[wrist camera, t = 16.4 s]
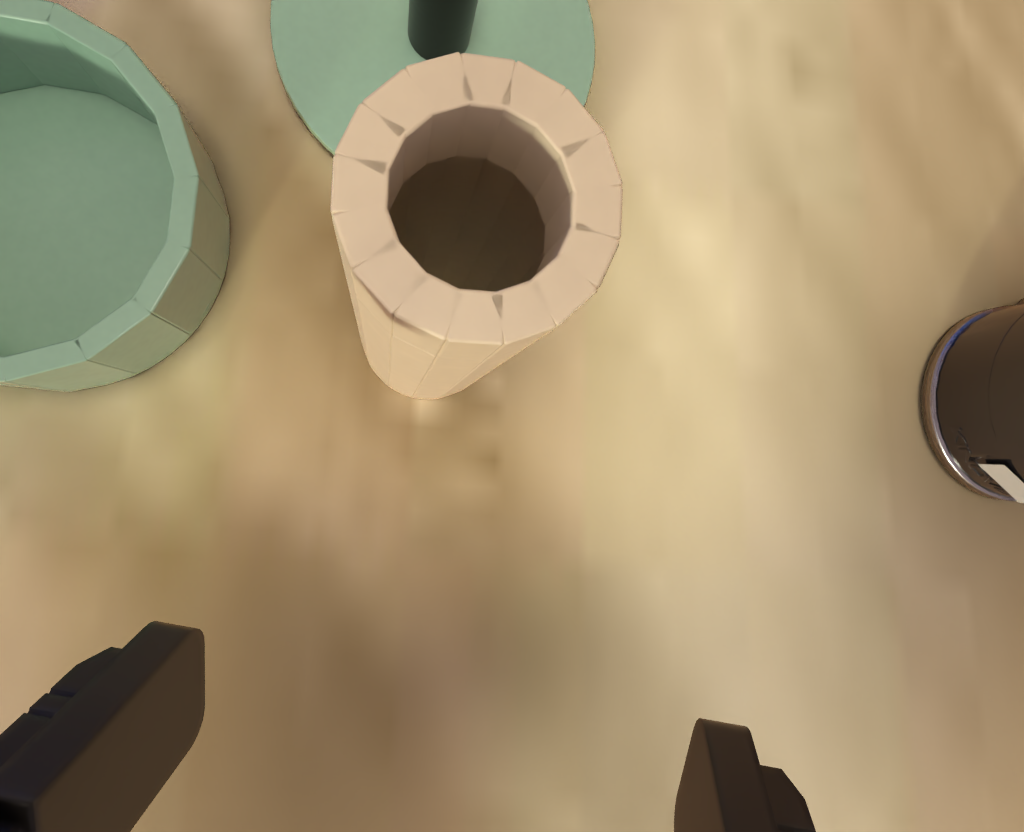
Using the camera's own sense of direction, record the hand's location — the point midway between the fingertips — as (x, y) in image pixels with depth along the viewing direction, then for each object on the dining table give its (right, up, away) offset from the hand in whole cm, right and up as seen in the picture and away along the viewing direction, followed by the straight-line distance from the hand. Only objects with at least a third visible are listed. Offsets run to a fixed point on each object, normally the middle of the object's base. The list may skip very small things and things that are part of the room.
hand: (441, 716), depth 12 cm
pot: (-17, +12, +17) cm, 27 cm away
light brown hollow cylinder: (-3, +8, +19) cm, 21 cm away
